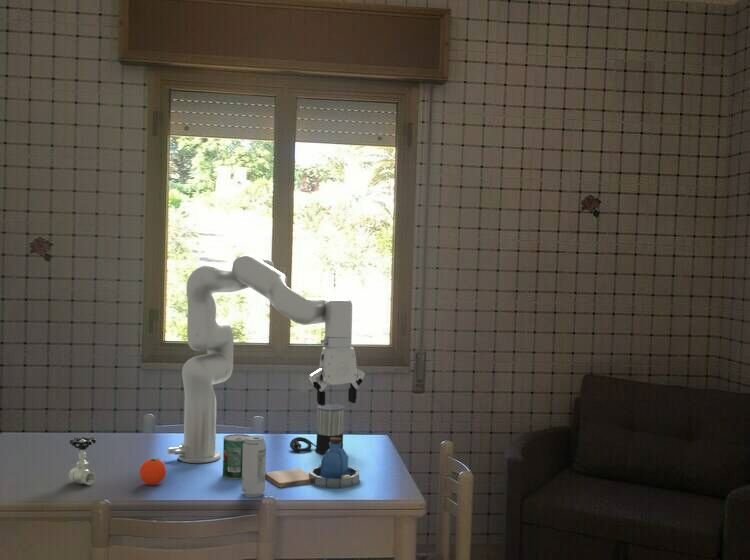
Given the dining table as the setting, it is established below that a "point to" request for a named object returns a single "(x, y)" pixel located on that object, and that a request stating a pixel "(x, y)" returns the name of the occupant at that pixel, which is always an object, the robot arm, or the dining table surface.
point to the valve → (82, 462)
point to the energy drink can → (253, 466)
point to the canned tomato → (233, 456)
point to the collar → (334, 482)
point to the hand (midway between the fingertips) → (336, 403)
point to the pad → (288, 477)
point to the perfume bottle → (334, 460)
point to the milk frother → (324, 429)
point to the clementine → (152, 471)
